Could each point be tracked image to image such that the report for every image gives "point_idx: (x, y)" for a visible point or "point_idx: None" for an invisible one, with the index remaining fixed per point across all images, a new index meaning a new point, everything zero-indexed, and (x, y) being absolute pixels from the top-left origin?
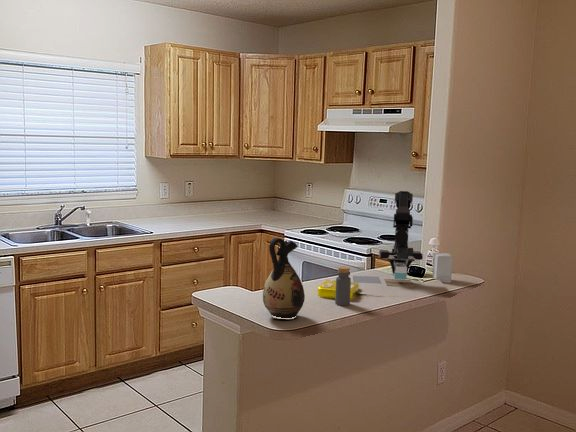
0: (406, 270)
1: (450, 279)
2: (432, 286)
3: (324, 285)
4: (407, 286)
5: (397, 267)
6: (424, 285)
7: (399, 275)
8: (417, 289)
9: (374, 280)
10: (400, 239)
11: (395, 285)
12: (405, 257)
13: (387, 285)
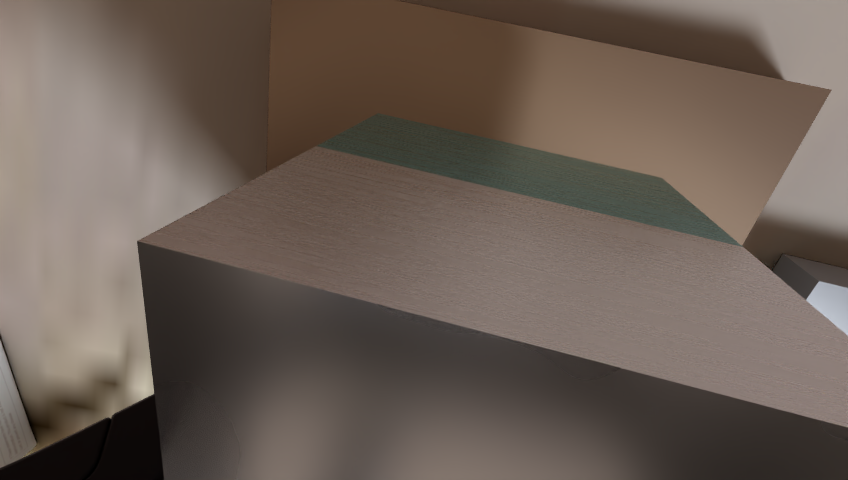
0: (278, 171)
1: None
2: (29, 180)
3: None
4: (404, 10)
5: (797, 376)
6: (122, 235)
7: (559, 178)
8: (241, 34)
9: None
10: None
11: (623, 104)
12: None
13: (802, 120)
